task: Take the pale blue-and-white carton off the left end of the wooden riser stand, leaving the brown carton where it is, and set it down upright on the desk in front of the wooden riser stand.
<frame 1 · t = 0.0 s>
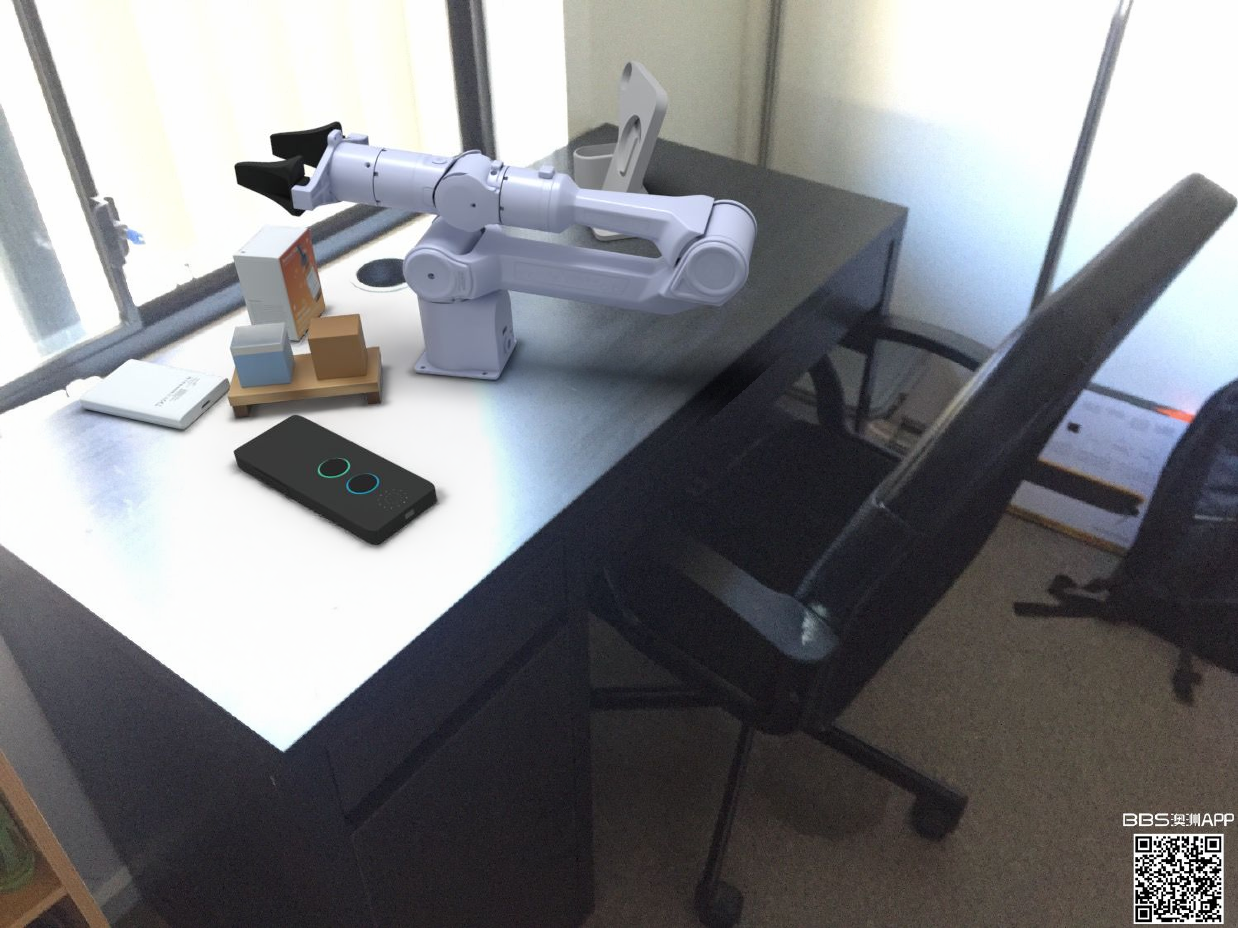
hand: (255, 158, 106), 22 cm above the table, tool horizontal, fingers open, 7 cm apart
blue carton: (268, 374, 109), point 3 cm above the table, touching wooden riser stand
small box: (291, 324, 123), on the table
phone holder: (619, 211, 146), on the table
hard drive: (158, 400, 111), on the table
wooden riser stand: (311, 393, 112), on the table
smart home device: (335, 483, 100), on the table
brown carton: (342, 367, 110), point 3 cm above the table, touching wooden riser stand
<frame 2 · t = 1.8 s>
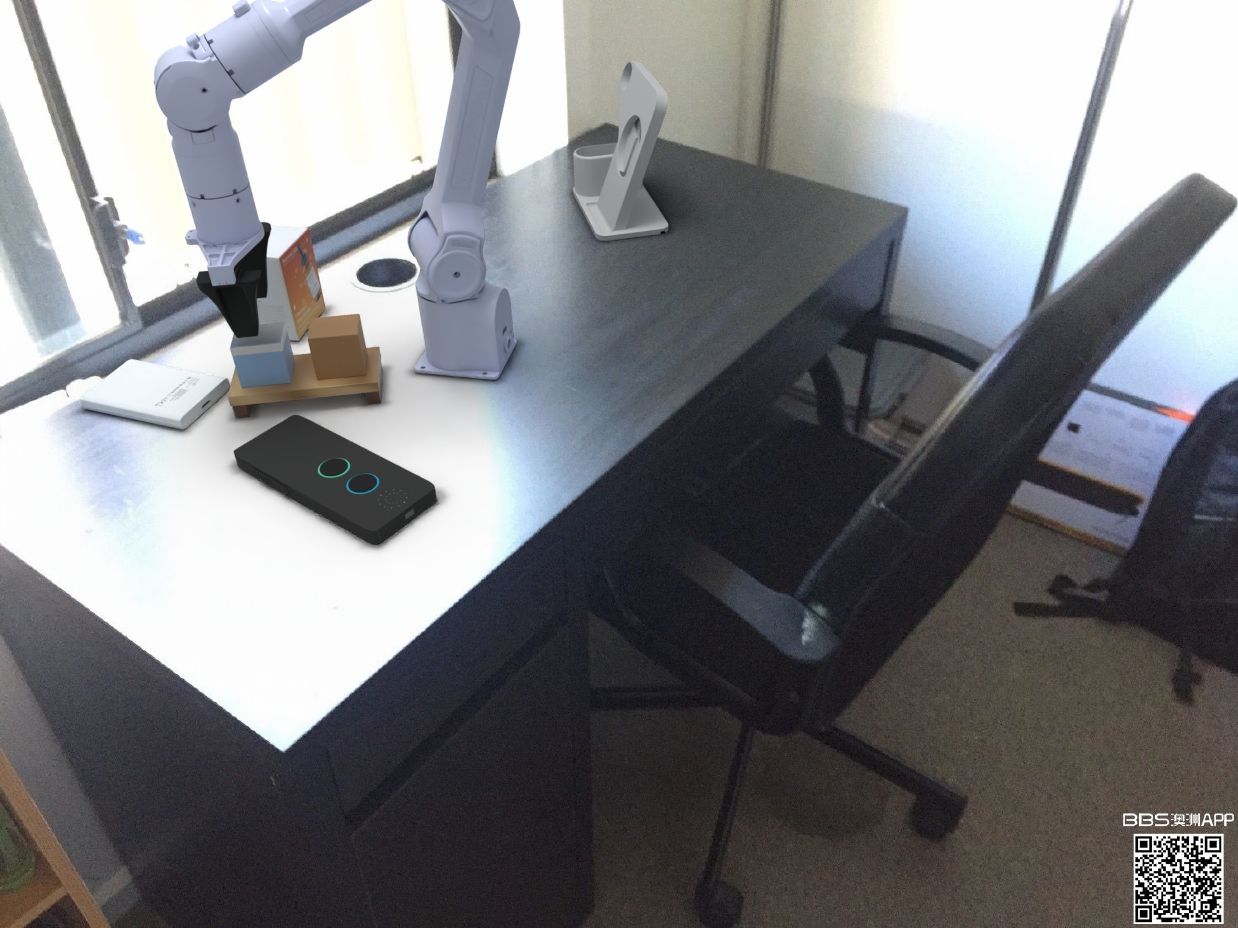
hand: (252, 315, 105), 10 cm above the table, tool pointing down, fingers open, 7 cm apart
nothing on the table moved.
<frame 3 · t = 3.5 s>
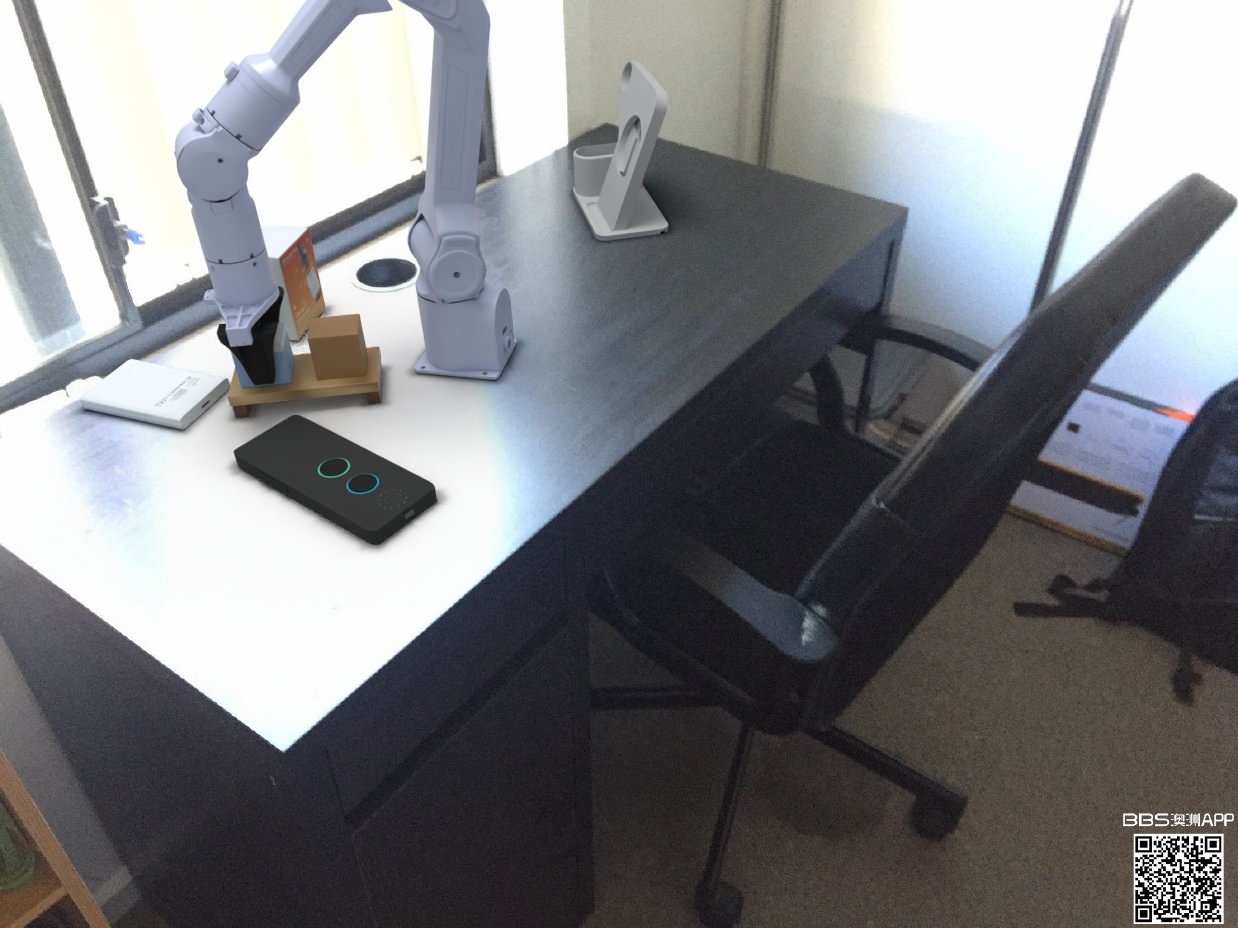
hand: (267, 369, 109), 3 cm above the table, tool pointing down, fingers closed on blue carton, 4 cm apart
blue carton: (268, 374, 109), point 3 cm above the table, touching gripper, wooden riser stand
everything else where it was.
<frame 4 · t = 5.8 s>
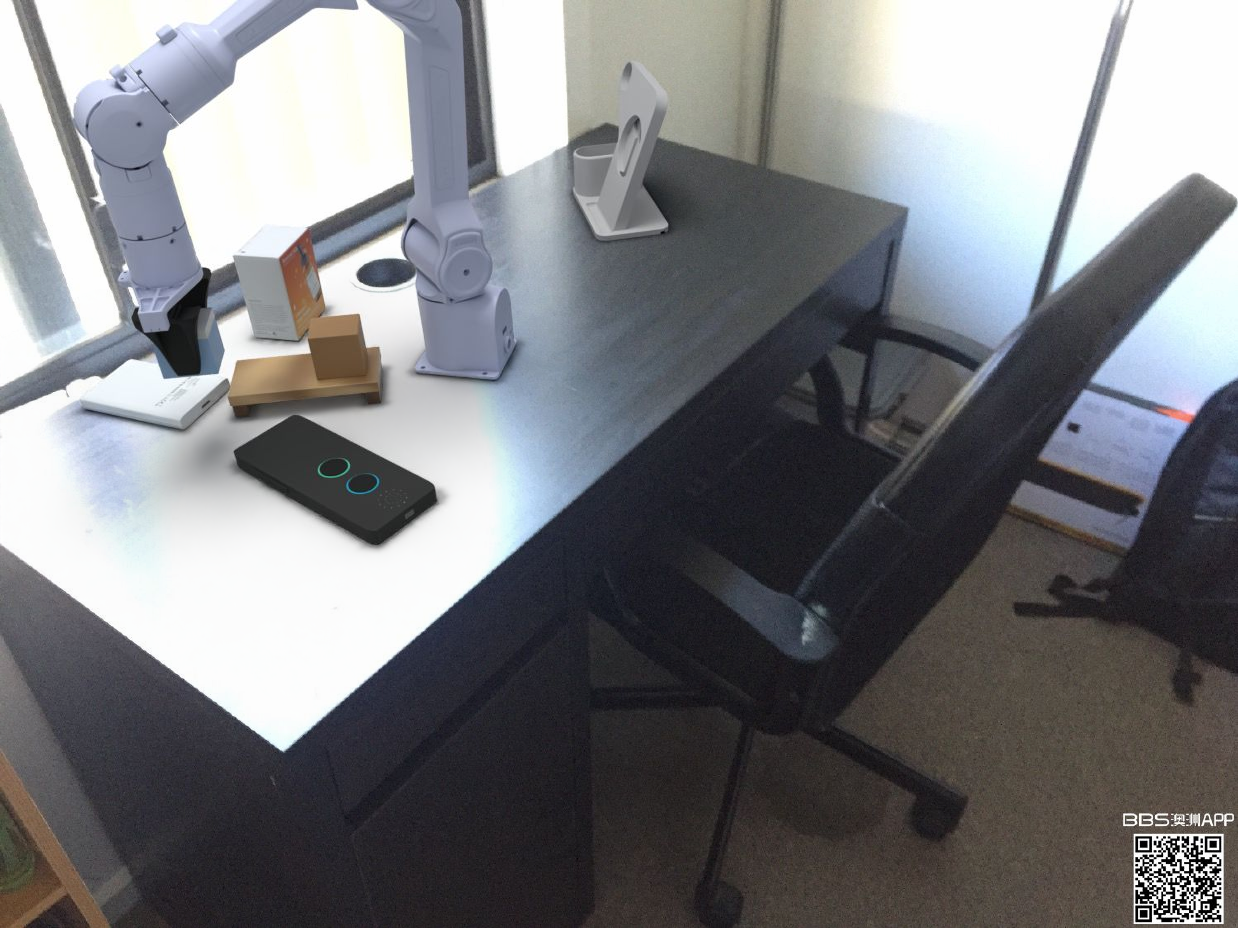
hand: (193, 359, 99), 10 cm above the table, tool pointing down, fingers closed on blue carton, 4 cm apart
blue carton: (194, 364, 100), point 9 cm above the table, touching gripper
everything else where it was.
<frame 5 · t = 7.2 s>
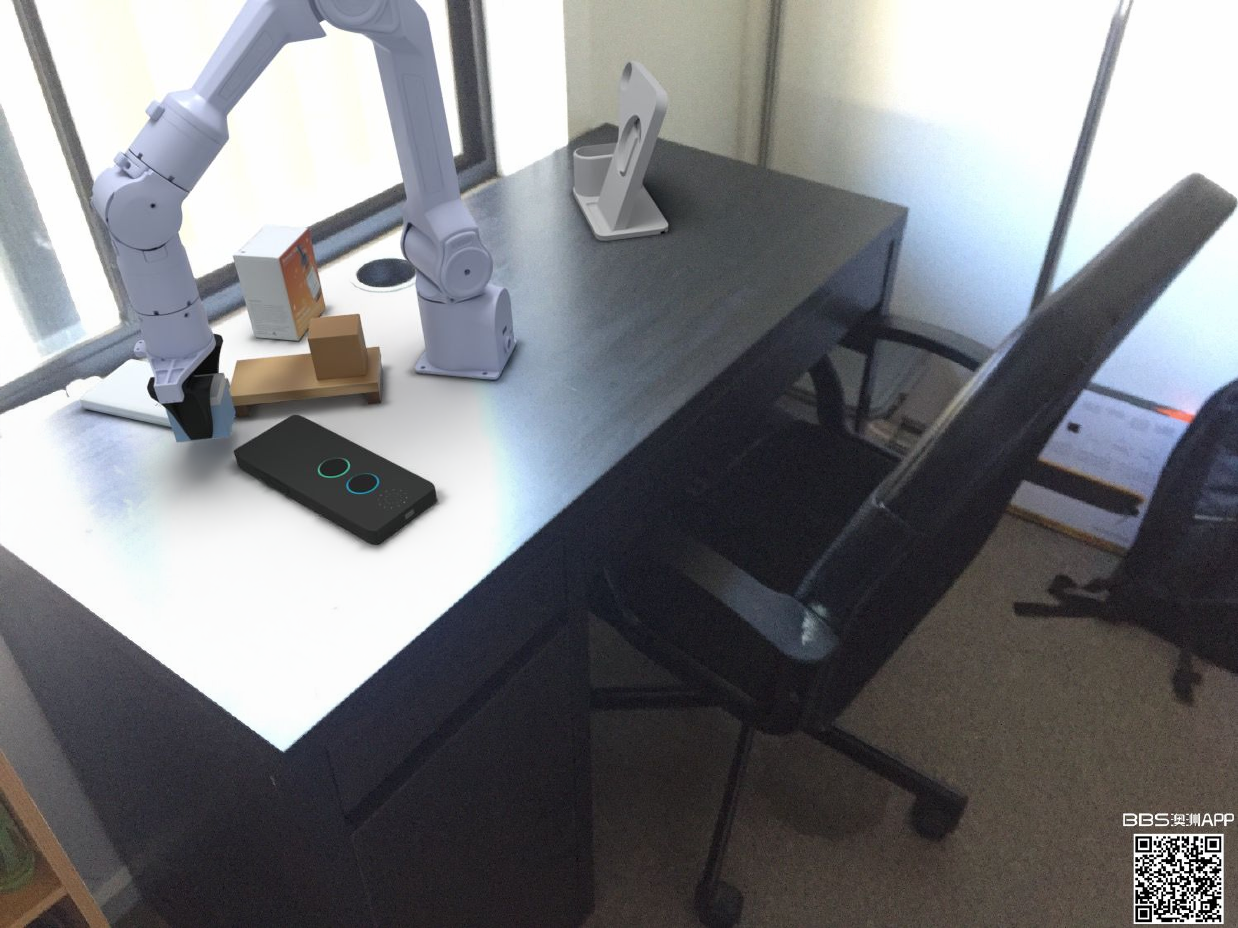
hand: (205, 422, 103), 3 cm above the table, tool pointing down, fingers closed on blue carton, 4 cm apart
blue carton: (206, 427, 103), point 2 cm above the table, touching gripper
everything else where it was.
when the fingers open (1 cm above the table, at t = 8.3 s): blue carton stays where it is, on the table.
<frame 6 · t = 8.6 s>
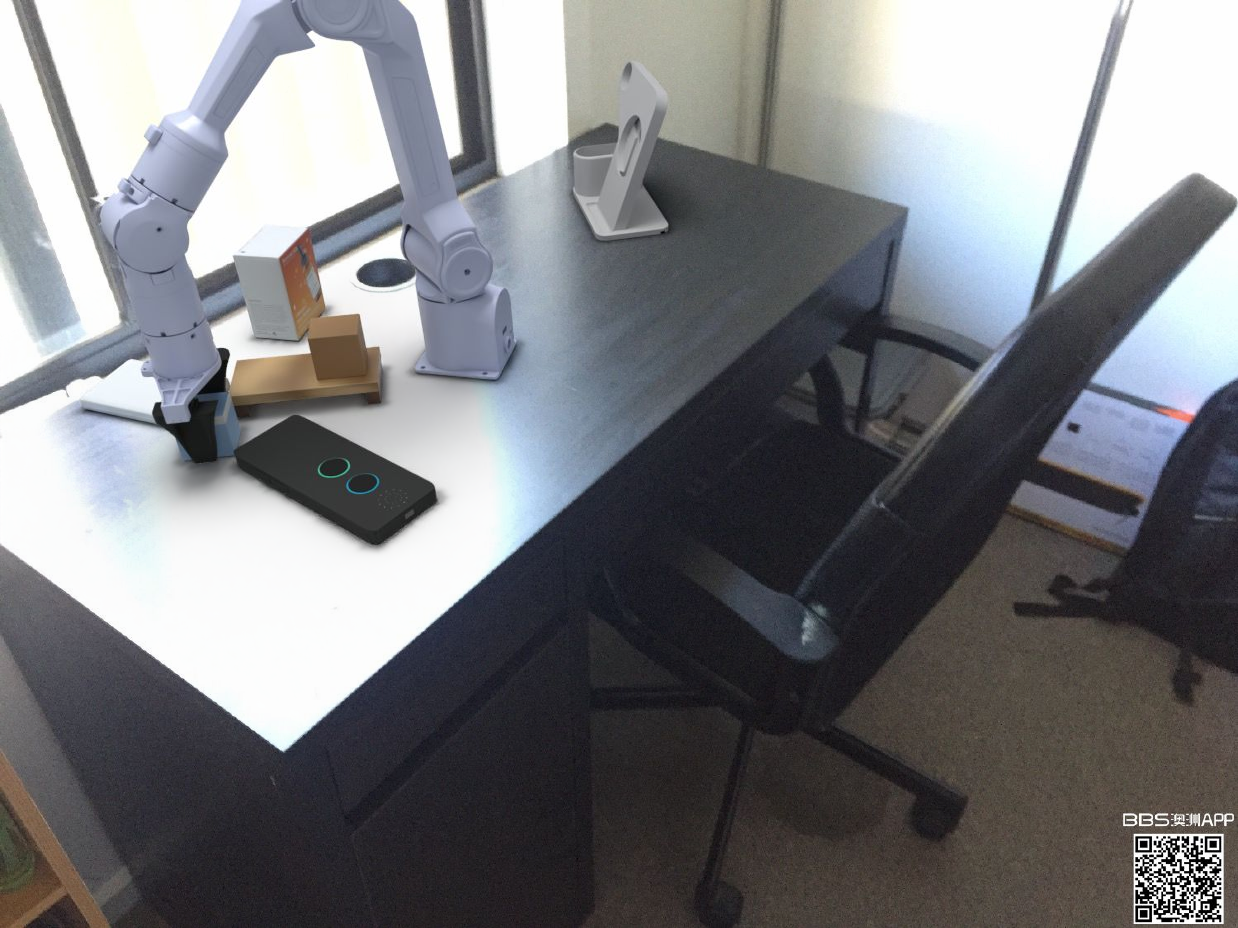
hand: (211, 440, 104), 1 cm above the table, tool pointing down, fingers open, 6 cm apart
blue carton: (212, 445, 105), on the table
everything else where it was.
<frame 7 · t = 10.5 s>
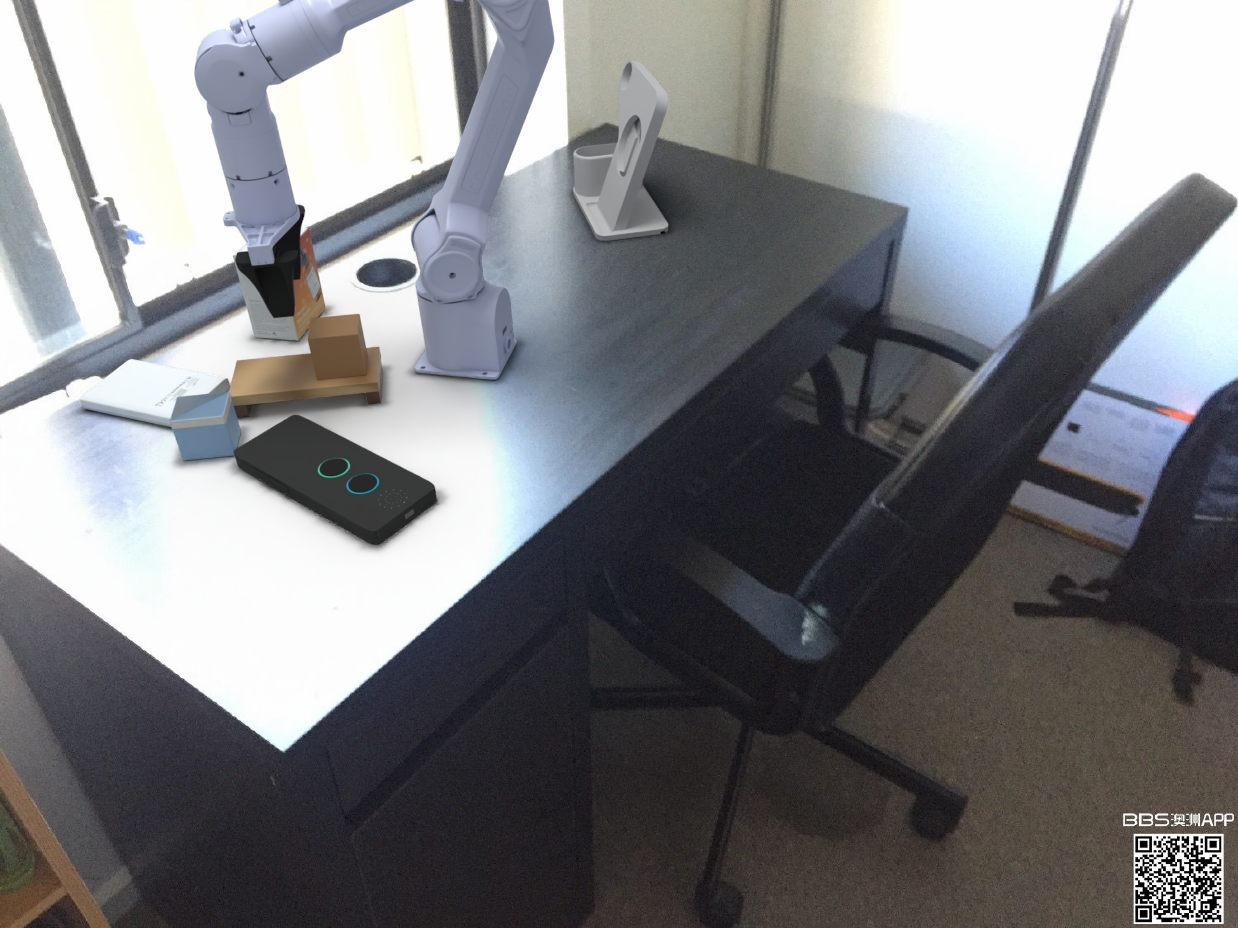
hand: (287, 296, 107), 10 cm above the table, tool pointing down, fingers open, 7 cm apart
nothing on the table moved.
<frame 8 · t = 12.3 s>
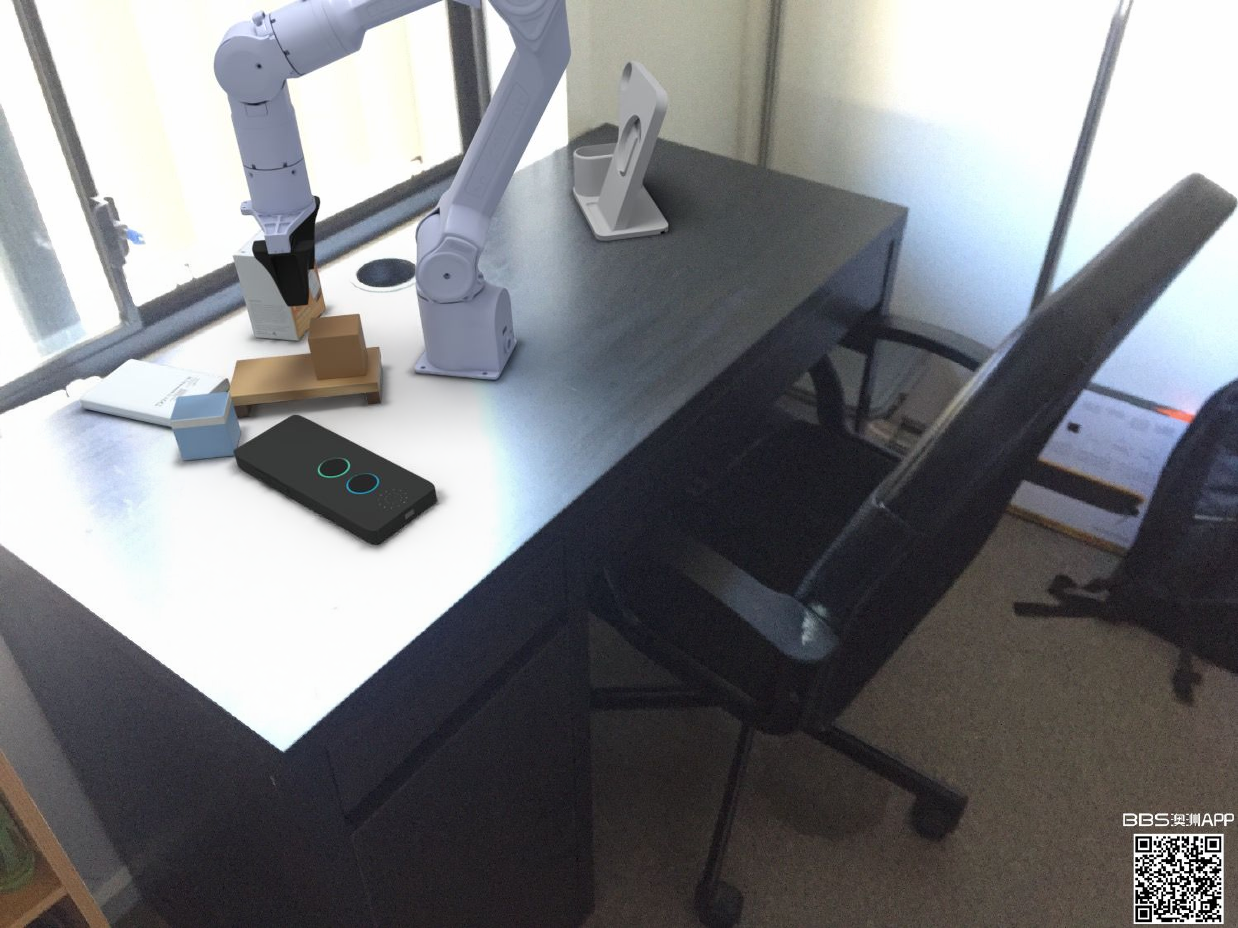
hand: (301, 286, 109), 10 cm above the table, tool pointing down, fingers open, 7 cm apart
nothing on the table moved.
at the end: blue carton 0.1 cm from the target spot, on the table; blue carton tilted 0°; brown carton moved 0.0 cm from its start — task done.
